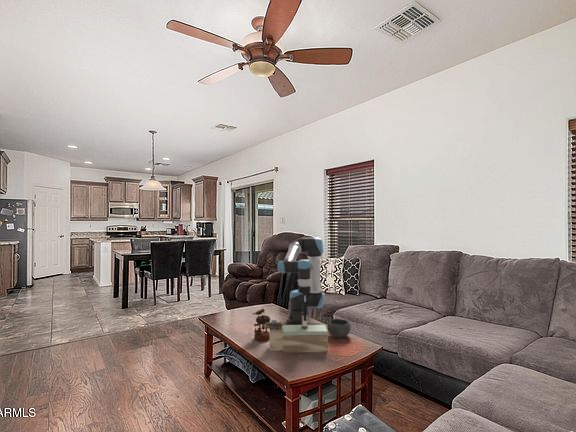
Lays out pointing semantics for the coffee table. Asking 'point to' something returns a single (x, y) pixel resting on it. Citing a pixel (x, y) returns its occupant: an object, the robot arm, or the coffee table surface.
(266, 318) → the music box
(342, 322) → the bowl
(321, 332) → the lid
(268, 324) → the tan wooden beam
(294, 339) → the toolbox
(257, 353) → the coffee table surface
